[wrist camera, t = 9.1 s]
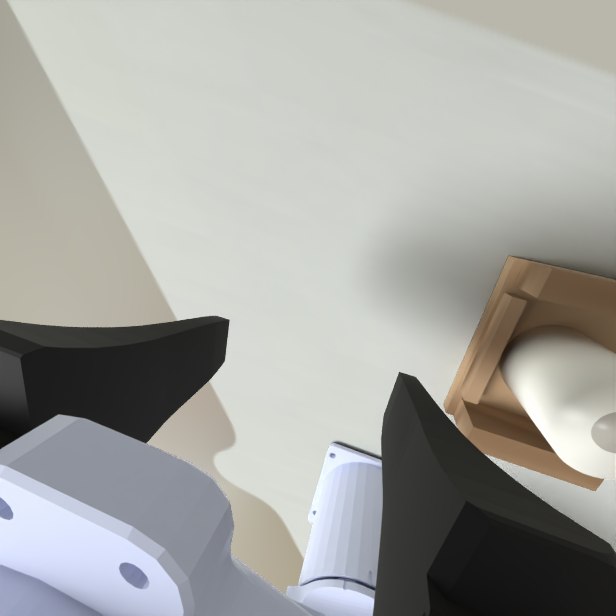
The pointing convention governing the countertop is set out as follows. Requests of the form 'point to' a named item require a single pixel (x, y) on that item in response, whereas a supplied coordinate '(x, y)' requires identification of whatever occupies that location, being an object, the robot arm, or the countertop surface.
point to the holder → (500, 332)
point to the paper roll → (567, 394)
